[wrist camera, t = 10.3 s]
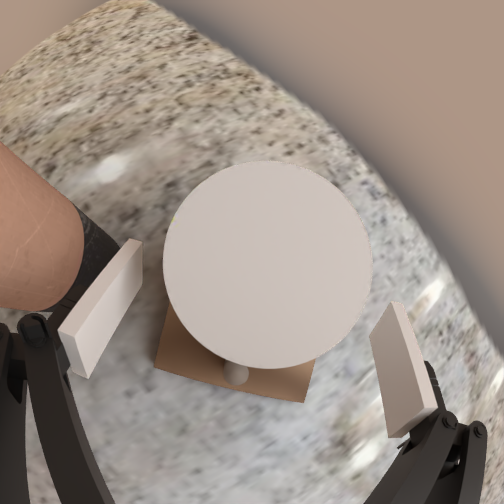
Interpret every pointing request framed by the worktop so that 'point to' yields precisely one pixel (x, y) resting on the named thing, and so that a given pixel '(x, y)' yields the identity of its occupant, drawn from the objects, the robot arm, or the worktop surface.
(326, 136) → the worktop surface
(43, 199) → the travel mug
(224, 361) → the tray
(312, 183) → the cup
